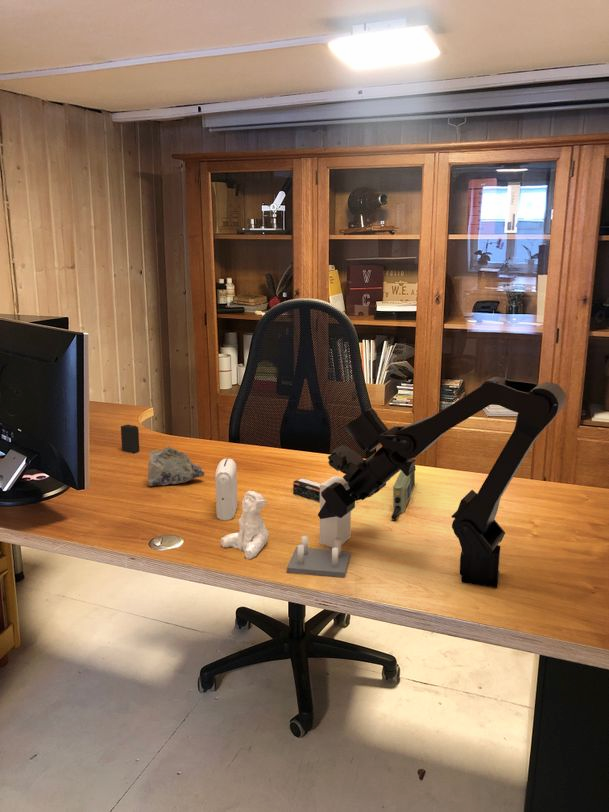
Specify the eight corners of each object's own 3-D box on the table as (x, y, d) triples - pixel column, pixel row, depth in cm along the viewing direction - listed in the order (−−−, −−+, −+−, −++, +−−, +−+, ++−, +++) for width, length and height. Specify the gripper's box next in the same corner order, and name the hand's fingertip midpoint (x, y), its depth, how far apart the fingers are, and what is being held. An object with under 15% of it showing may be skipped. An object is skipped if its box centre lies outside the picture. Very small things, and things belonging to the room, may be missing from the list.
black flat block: (337, 520, 151) (337, 503, 150) (259, 494, 167) (258, 478, 166) (374, 502, 162) (375, 486, 161) (297, 479, 178) (297, 464, 177)
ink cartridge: (139, 451, 199) (138, 426, 197) (134, 454, 198) (133, 428, 196) (127, 449, 202) (126, 423, 200) (122, 451, 200) (120, 425, 198)
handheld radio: (416, 485, 172) (401, 523, 148) (403, 484, 173) (387, 522, 149) (416, 460, 170) (401, 495, 147) (403, 460, 171) (386, 494, 148)
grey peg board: (350, 555, 133) (350, 534, 132) (344, 577, 124) (345, 555, 123) (296, 551, 135) (296, 530, 134) (286, 572, 126) (286, 550, 125)
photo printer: (234, 520, 150) (232, 468, 147) (215, 520, 150) (213, 468, 147) (239, 503, 160) (237, 454, 157) (221, 503, 160) (219, 454, 157)
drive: (350, 537, 141) (351, 479, 138) (336, 548, 136) (337, 488, 133) (333, 533, 143) (334, 476, 140) (319, 543, 138) (319, 484, 135)
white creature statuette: (218, 546, 137) (216, 491, 134) (249, 533, 143) (247, 480, 140) (249, 560, 131) (248, 503, 128) (280, 546, 137) (280, 491, 134)
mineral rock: (207, 481, 175) (205, 444, 172) (182, 494, 165) (180, 456, 163) (167, 474, 180) (165, 438, 178) (141, 486, 171) (138, 449, 169)
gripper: (374, 425, 140) (328, 466, 148) (330, 448, 124) (281, 493, 132) (407, 467, 138) (359, 507, 146) (367, 496, 122) (315, 538, 130)
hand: (329, 509), depth 139 cm, fingers open, 8 cm apart
